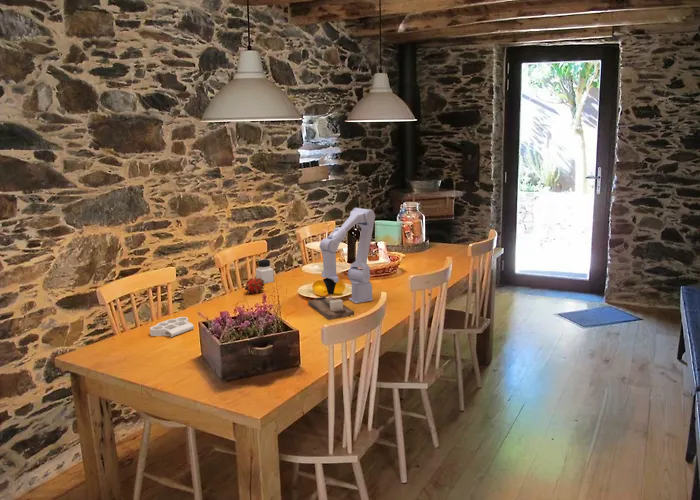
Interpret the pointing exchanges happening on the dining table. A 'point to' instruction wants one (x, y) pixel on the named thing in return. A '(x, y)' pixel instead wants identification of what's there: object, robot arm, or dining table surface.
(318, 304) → the slotted base plate
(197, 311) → the dining table surface
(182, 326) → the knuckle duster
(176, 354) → the dining table surface
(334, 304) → the fader tab
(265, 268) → the medicine bottle
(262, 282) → the dragon fruit
